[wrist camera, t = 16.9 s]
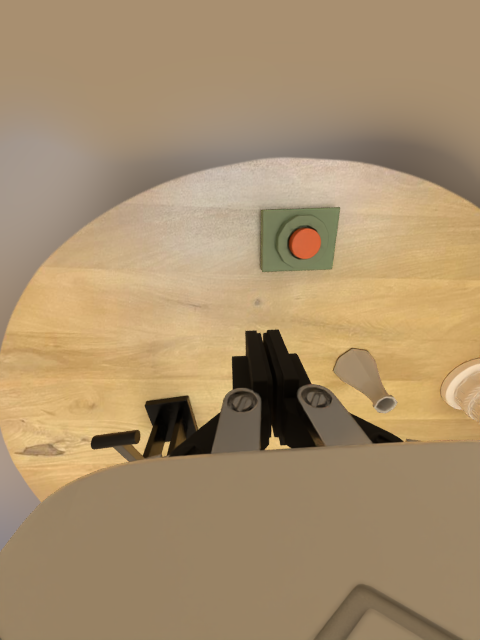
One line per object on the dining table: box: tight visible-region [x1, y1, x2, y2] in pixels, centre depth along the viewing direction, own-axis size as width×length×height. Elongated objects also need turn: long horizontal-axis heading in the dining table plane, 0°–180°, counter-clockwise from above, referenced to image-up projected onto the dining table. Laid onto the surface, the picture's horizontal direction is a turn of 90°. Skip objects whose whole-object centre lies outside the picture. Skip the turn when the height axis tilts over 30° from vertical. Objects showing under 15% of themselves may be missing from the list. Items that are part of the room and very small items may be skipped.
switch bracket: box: [143, 396, 198, 458], centre depth 41 cm, size 10×8×14 cm
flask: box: [333, 349, 397, 413], centre depth 39 cm, size 7×7×10 cm
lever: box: [91, 430, 144, 462], centre depth 32 cm, size 16×5×2 cm, turn 7°
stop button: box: [289, 228, 321, 259], centre depth 30 cm, size 4×4×2 cm
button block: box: [261, 207, 340, 272], centre depth 32 cm, size 10×8×4 cm
